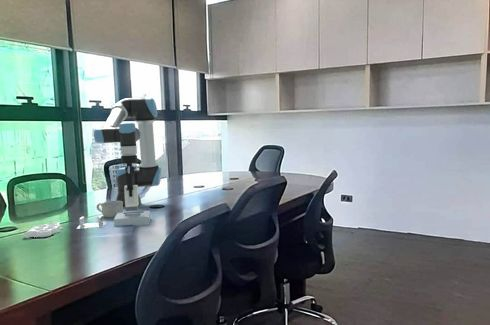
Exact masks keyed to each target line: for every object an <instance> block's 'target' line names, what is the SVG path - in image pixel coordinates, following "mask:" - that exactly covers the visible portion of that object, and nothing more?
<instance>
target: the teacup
mask: <svg viewBox="0 0 490 325" xmlns="http://www.w3.org/2000/svg"><path fill="white" fill-rule="evenodd" d="M100 206H101V208H100ZM96 209H97V210H98V212H100V213H101V215H103V218H104V217H105V218H107V219H108V218H109V219H110V218H111V219H112V218H113V219H114V218H115V216H116V215H117V213H124V206H123V202H122V201H116V200H109V201H104V202H102V203H100V202H99V203H97V205H96Z"/></svg>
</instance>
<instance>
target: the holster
mask: <svg viewBox="0 0 490 325" xmlns="http://www.w3.org/2000/svg"><path fill="white" fill-rule="evenodd" d="M97 217H98V218H97V219H98V222H88V223H86V222H85V220H86V219H85V216H81V217H79V225H78V226H77V227H76V230H78V229H79V230H80V229H92V228H103V227H104V226H105V225H106V224H107V221H104V216H103V214H100V215H99V216H97Z"/></svg>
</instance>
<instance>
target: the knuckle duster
mask: <svg viewBox="0 0 490 325" xmlns="http://www.w3.org/2000/svg"><path fill="white" fill-rule="evenodd" d="M63 229H64V227H61V223H60V222H50V223H46V224H45V223H44V224H39V225H34V226H33V227H32V228H30V229H29V230H27V231H26V232H24V233H23V234H22V237H23V238H24V239H30V238H29V237H34V238H35V237H36V238H44V237H50V236H52V235H53V234H57V233H60V232H61V231H62V230H63Z"/></svg>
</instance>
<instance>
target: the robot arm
mask: <svg viewBox="0 0 490 325" xmlns="http://www.w3.org/2000/svg"><path fill="white" fill-rule="evenodd" d="M157 117H158V108H157V105H156V101H155V99H154V98H152V97H129V98H123V99H121V100H118V102H116V103H114V105H113V106H112V107H111V109H110V114H109V115H108V117H107V119H106V121H105V123H104V124H103V126H102V127H99V128H95V129H94V131H93V139H94V141H95V143H97V144H113V143H116V144H117V143H119V146H120V148H119V149H118V150H119V151H120V155H121V156H120V158H121V159H120V161H121V164H123V165H124V164H126V166H124V167H120V168H118V169H117V170H116V182H117V183H116V185H117V186H116V187H117V194H116V198H115V201H122V202H123V207H125V194H124V186H127V189H126V190H128V204H130V203H134V190H133V185H138V188H143V187H144V188H145V187H146V188H147V187H158V186H159V185H160V183H161V178H162V167H161V166H159V163H158V162H156V151H155V150H156V148H155V139H154V138H155V137H154V136H155V135H154V134H155V133H154V125H153V124H154V122H155V120H156V118H157ZM131 118H132V119H134V120H135V122H136V124H137V126H138V127H136V124H135V123H134V122H124V121H125V120H126V119H131ZM137 141H139V151H140V152H139V153H140V164H139V165H138V167H137V165H133V164H135V163H138V155H137V154H138V146H137ZM138 202H139V205H140V204H142V199H141V196H140V194H139V193H138Z"/></svg>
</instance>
